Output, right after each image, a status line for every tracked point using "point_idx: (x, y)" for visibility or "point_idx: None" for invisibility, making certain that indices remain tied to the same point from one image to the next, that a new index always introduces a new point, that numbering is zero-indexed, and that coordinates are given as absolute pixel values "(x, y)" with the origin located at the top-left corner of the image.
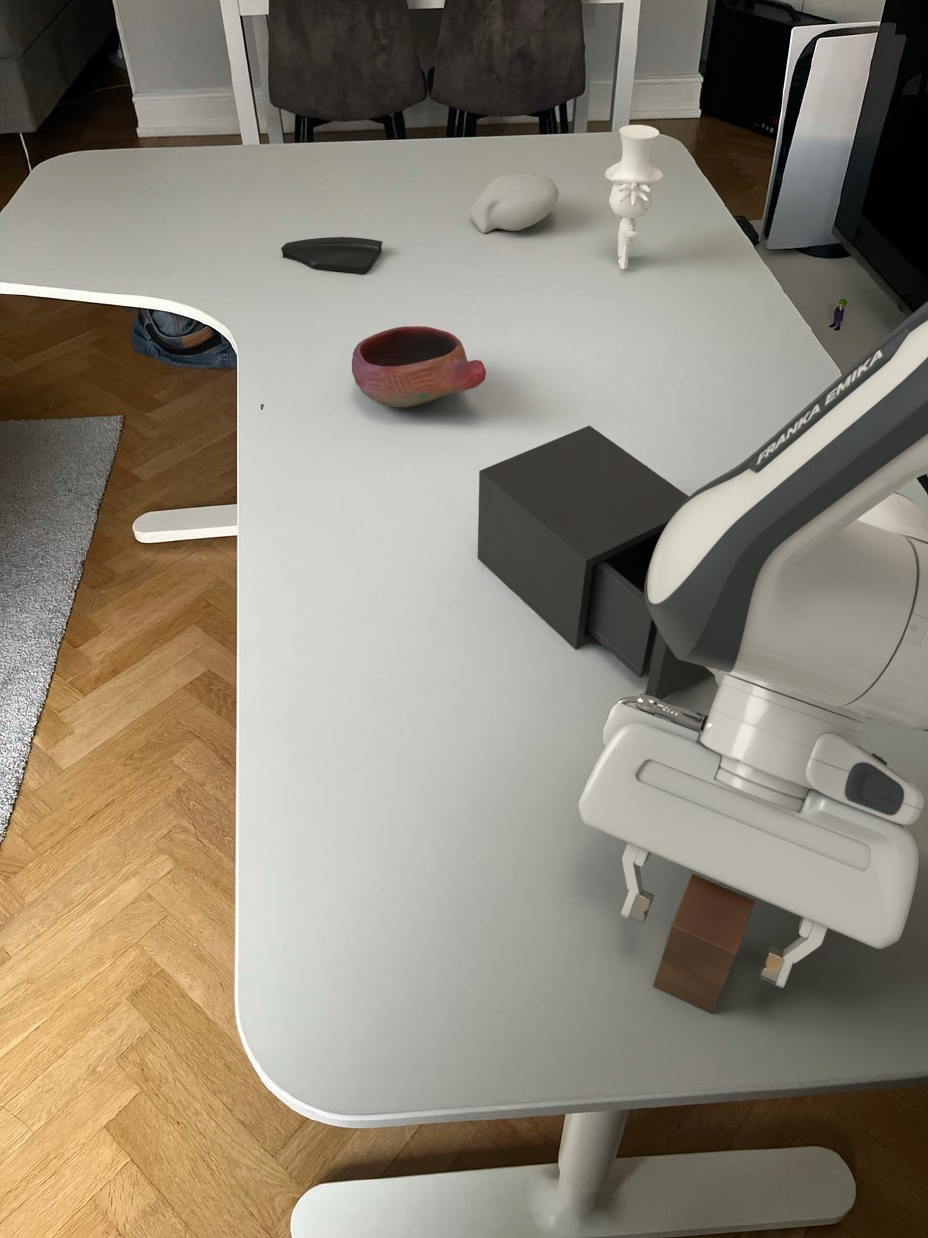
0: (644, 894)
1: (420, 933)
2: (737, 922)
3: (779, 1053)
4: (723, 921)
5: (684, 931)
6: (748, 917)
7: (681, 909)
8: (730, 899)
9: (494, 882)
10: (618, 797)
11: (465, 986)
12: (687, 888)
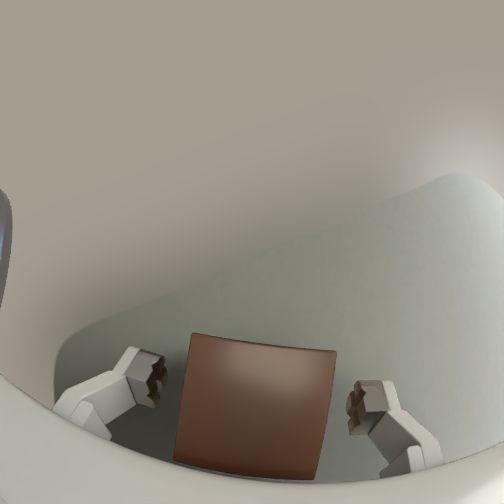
0: (372, 421)
1: (490, 304)
2: (199, 406)
3: (154, 323)
4: (229, 402)
5: (308, 349)
6: (179, 423)
7: (324, 396)
8: (223, 454)
9: (465, 384)
10: (501, 501)
11: (451, 277)
12: (320, 447)
